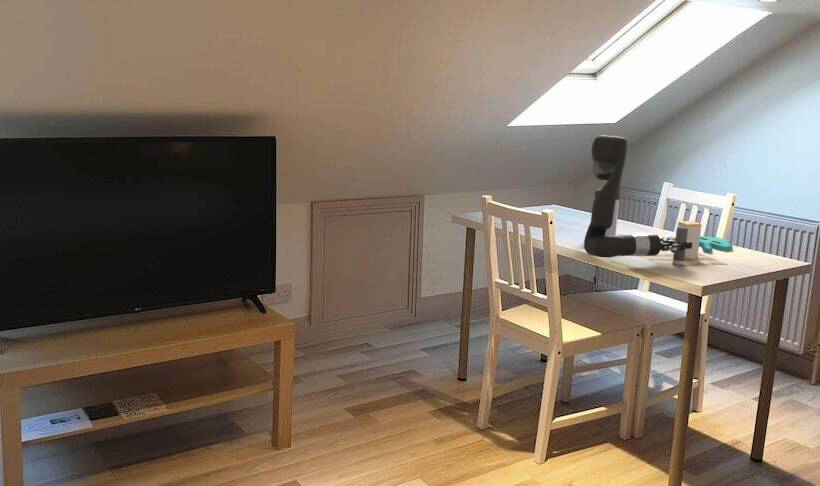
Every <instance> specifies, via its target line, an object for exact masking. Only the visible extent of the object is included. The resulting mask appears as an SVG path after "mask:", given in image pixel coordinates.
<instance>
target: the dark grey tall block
mask: <svg viewBox="0 0 820 486" xmlns="http://www.w3.org/2000/svg"><path fill="white" fill-rule="evenodd" d="M675 232H676V233H675V238H676V239H675V241H676V242H686V241H687V233H688V228H685V227H678V226H677V227H676V231H675ZM685 250H686V249H684V251H681V252H675V253H674V256H673V262H672V264H674V265H680V266H679V267H683V266H682V265H684V258H685Z"/></svg>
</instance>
